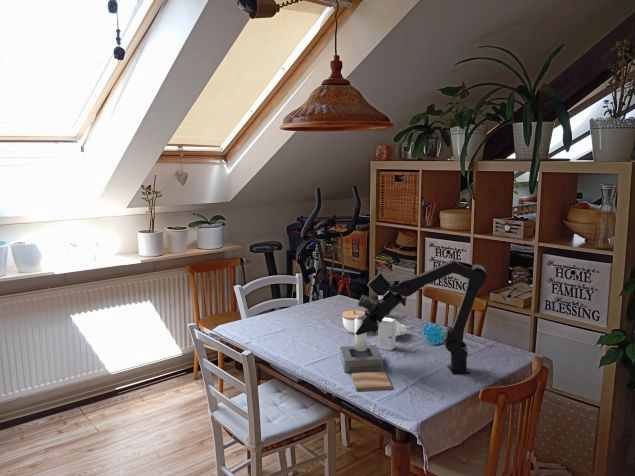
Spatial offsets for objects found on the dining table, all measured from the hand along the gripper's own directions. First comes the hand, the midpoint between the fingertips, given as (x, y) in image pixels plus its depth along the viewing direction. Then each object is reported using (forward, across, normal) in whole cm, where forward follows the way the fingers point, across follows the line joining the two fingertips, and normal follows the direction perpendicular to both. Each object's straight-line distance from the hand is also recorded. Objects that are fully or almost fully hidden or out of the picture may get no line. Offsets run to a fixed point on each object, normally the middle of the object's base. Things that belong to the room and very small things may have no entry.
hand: (357, 332), depth 200 cm
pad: (+4, +15, +14) cm, 21 cm away
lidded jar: (+13, -36, +5) cm, 39 cm away
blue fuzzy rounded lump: (-11, -27, +29) cm, 42 cm away
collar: (+8, 0, +10) cm, 13 cm away
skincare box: (+2, -18, +16) cm, 24 cm away
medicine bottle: (+8, -56, +10) cm, 58 cm away
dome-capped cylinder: (+4, 0, +6) cm, 7 cm away
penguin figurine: (0, -31, +18) cm, 36 cm away
